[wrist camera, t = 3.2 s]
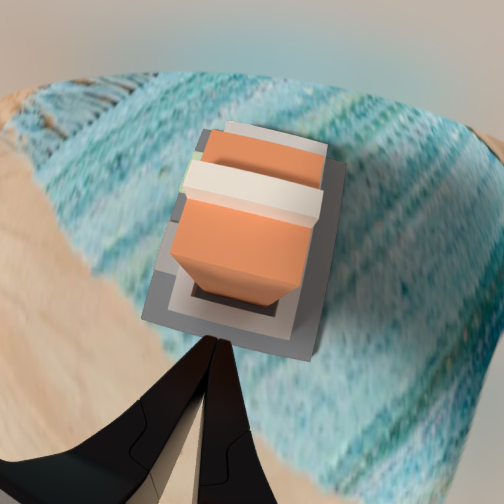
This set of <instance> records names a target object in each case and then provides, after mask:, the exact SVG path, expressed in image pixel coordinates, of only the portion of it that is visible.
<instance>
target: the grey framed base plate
mask: <svg viewBox="0 0 504 504" xmlns="http://www.w3.org/2000/svg"><path fill="white" fill-rule="evenodd" d="M211 131H212V130H207V129H203V131H202V133H201V136H200V138H199V141H198V143H197V146H196V148H195V151H193V154H192V156H191V159H190V162H189V164H188V167H187V170H186V172H185V175H184V178H183V181H182V183H181V186H180V189H179V195H178V197H177V200H176V203H175V206H174V209H173V212H172V215H171V218H170V221H168V224H167V227H166V230H165V233H164V236H163V239H162V243H161V246H160V249H159V252H158V256H157V259H156V262H155V266H154V272H153V276H152V279H151V283H150V286H149V290H148V294H147V297H146V301H145V305H144V309H143V312H142V316H141V319H142V320H145V321H149V322H152V323H155V324H158V325H161V326H165V327H168V328H171V329H175V330H178V331H182V332H185V333H189V334H192V335H196V336H199V337H203V336H204V335H211V336H215V337H217V338H218V339H219V338H222V339H226V340H230V341H231V343H232V345H234V346H238V347H242V348H246V349H250V350H255V351H259V352H263V353H268V354H272V355H277V356H282V357H287V358H291V359H296V360H302V361H307V362H310V361H311V357H312V353H313V349H314V344H315V340H316V336H317V331H318V327H319V322H320V318H321V313H322V308H323V304H324V299H325V294H326V289H327V284H328V279H329V273H330V268H331V263H332V257H333V251H334V246H335V240H336V234H337V227H338V221H339V215H340V208H341V201H342V194H343V186H344V179H345V171H346V163H343V162H340V161H336V160H333V159H330V158H326V153H327V146H328V145H327V144H324V143H320V142H317V141H313V140H310V139H306V138H302V137H298V136H295V135H291V134H287V133H283V132H279V131H275V130H270V129H266V128H262V127H257V126H253V125H248V124H243V123H238V122H233V121H227V123H226V126H225V129H224V131H223V132H228V133H233V134H238V135H242V136H247V137H251V138H256V139H260V140H265V141H269V142H273V143H277V144H281V145H285V146H289V147H293V148H297V149H301V150H304V151H308V152H312V153H315V154H319V155H322V156H324V161H323V167H322V173H321V179H320V185H319V190H323V191H324V192H323V198H322V203H321V209H320V215H319V219H318V221H317V222H316V223H315V225H314V226H313V227H312V229H311V234H310V239H309V244H308V249H307V254H306V259H305V264H304V268H303V273H302V278H301V283H300V286H299V287H297V288H296V289H294V290H293V291H291V292H289V293H288V294H286V295H285V296H283V297H282V298H280V299H278V300H277V301H275V302H274V303H272V304H270V305H269V306H267V307H262V306H258V305H254V304H249V303H245V302H241V301H237V300H233V299H229V298H226V297H222V296H218V295H214V294H210V293H206V292H204V291H203V290H202V289H201V288H200V286H199V285H198V284H197V283H196V282H195V281H194V280H193V279H192V278H191V277H190V275H189V274H188V273H187V272H186V271H185V270H184V269H183V268H182V267H181V265H180V264H179V263H178V262H177V261H176V260H175V259H174V258H173V256H172V255H171V254H170V250H171V247H172V243H173V240H174V237H175V234H176V231H177V228H178V224H179V221H180V218H181V215H182V212H183V209H184V206H185V203H186V200H187V196H186V194H185V191H184V188H183V184H184V181H185V178H186V175H187V173H188V170H189V167H190V165H191V162H192V159H193V160H198V161H200V160H201V158H202V155H203V152H204V150H205V147H206V144H207V142H208V139H209V136H210V134H211Z"/></svg>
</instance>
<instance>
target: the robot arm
mask: <svg viewBox="0 0 504 504" xmlns="http://www.w3.org/2000/svg"><path fill="white" fill-rule="evenodd" d="M203 397H204V399H203ZM202 400H203V406H202V414H201V423H200V431H199V440H198V449H197V458H196V468H195V478H194V488H193V498H192V504H278V503H277V501H276V499H275V497H274V495H273V492H272V490H271V488H270V486H269V483H268V481H267V479H266V476H265V474H264V471H263V469H262V466H261V464H260V461H259V458H258V456H257V452H256V449H255V445H254V442H253V438H252V433H251V431H250V425H249V421H248V417H247V412H246V408H245V404H244V399H243V395H242V390H241V386H240V381H239V376H238V372H237V367H236V362H235V358H234V353H233V348H232V343H231V341H230V340H226V339H222V338H219V339H218V338H217V337H215V336H211V335H204V336H203V337H202V338H201V339H200V340H199V341H198V342H197V343H196V344H195V345H194V346H193V347H192V348H191V349H190V350H189V351H188V352H187V353H186V354H185V355H184V356H183V357H182V358H181V359H180V360H179V361H178V362H177V363H176V364H175V365H174V366H173V367H172V368H171V369H170V370H168V371H167V372H166V373H165V374H164V375H163V376H162V377H161V378H160V379H159V380H158V381H157V382H156V383H155V384H154V385H153V386H152V387H151V388H150V389H149V390H148V391H147V392H146V393H145V394H143V395H142V396H141V397H140V400H137V401H136V402H135V403H134V404H133V405H132V406H131V407H130V408H128V409H127V410H126V411H125V412H124V413H123V414H122V415H120V416H119V417H118V418H117V419H115V420H114V421H113V422H111V423H110V424H109V425H107V426H106V427H104V428H103V429H101V430H100V431H98V432H97V433H96V434H94V435H93V436H91V437H90V438H88V439H87V440H85V441H84V442H82V443H81V444H79V445H78V446H76V447H74V448H72V449H70V450H68V451H65V452H62V453H58V454H54V455H49V456H44V457H40V458H34V459H29V460H24V461H18V462H9V461H4V460H1V459H0V504H158V503H159V500H160V498H161V496H162V494H163V491H164V489H165V487H166V484H167V482H168V480H169V477H170V475H171V473H172V470H173V468H174V466H175V463H176V461H177V459H178V456H179V454H180V452H181V449H182V447H183V445H184V442H185V440H186V438H187V435H188V433H189V431H190V428H191V426H192V424H193V421H194V419H195V417H196V414H197V412H198V409H199V407H200V405H201V402H202Z"/></svg>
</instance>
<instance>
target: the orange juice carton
mask: <svg viewBox="0 0 504 504" xmlns="http://www.w3.org/2000/svg"><path fill="white" fill-rule="evenodd" d="M323 161H324V156H322V155H319V154H315V153H312V152H308V151H304V150H301V149H297V148H293V147H289V146H285V145H281V144H277V143H273V142H269V141H265V140H260V139H256V138H251V137H247V136H242V135H238V134H233V133H228V132H223V131H218V130H212V131H211V134H210V136H209V139H208V142H207V144H206V147H205V150H204V152H203V155H202V158H201V160H200V161H198V160H193V159H192V162H191V165H190V167H189V170H188V173H187V175H186V178H185V181H184V184H183V188H184V191H185V194H186V196H187V200H186V203H185V206H184V209H183V212H182V215H181V218H180V221H179V224H178V228H177V231H176V234H175V237H174V240H173V243H172V247H171V250H170V254H171V255H172V256H173V258H174V259H175V260H176V261H177V262H178V263H179V264H180V265H181V267H182V268H183V269H184V270H185V271H186V272H187V273H188V274H189V275H190V277H191V278H192V279H193V280H194V281H195V282H196V283H197V284H198V285H199V286H200V288H201V289H202V290H203V291H204V292H206V293H210V294H214V295H218V296H222V297H226V298H229V299H233V300H237V301H241V302H245V303H249V304H254V305H258V306H262V307H267V306H269V305H270V304H272V303H274V302H275V301H277V300H278V299H280V298H282V297H283V296H285V295H286V294H288V293H289V292H291V291H293V290H294V289H296V288H297V287H299V286H300V283H301V278H302V273H303V268H304V264H305V259H306V254H307V249H308V244H309V239H310V234H311V229H312V227H313V226H314V225H315V223H316V222H317V221H318V219H319V215H320V209H321V203H322V198H323V192H324V191H323V190H319V185H320V179H321V173H322V167H323Z"/></svg>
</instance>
